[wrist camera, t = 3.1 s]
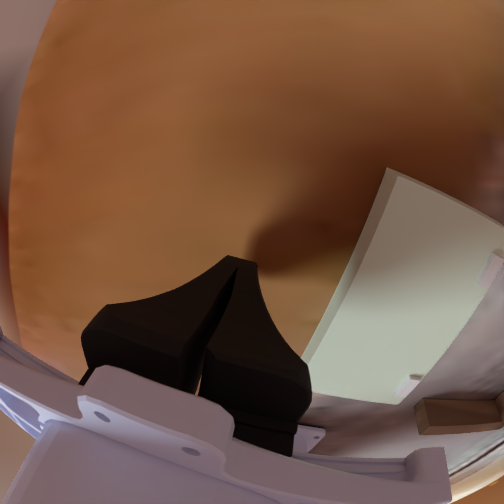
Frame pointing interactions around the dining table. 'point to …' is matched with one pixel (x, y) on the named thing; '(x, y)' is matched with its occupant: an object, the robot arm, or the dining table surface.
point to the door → (403, 292)
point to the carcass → (459, 415)
